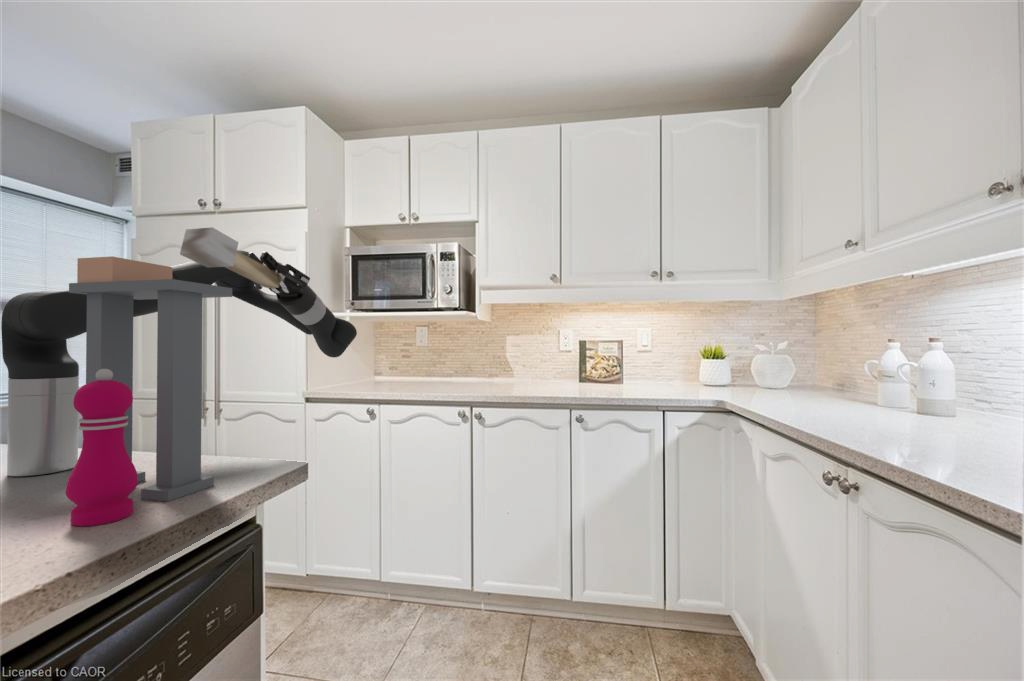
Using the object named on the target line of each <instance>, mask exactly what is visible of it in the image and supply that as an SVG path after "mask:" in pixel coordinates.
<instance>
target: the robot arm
mask: <svg viewBox="0 0 1024 681" xmlns="http://www.w3.org/2000/svg"><path fill="white" fill-rule="evenodd" d="M237 251H238V252H240V253H242V254H244V255H246V256H248V257H249V258H251V259H253V260H255V261H257V262H258V263H260V264H262V265H264V266H266V267H268V268H269V269H270V270H273V273H274V274H275V276H276V277H277V280H278V281H279V282H280V284H279V288H268V290H270V291H271V292H272V293H274V295H273V294H269V293H266V292H264V291H262V289H263V288H265V287H264V286H262V285H260V284H258V283H256V282H254V281H252V280H250V279H248V278H246V277H244V276H242V275H240V274H238V273H236V272H234V271H232V270H229V269H227V268H225V267H205V266H203V265H201V264H199V263H197V262H195V261H193V260H191V261H188V262H184V263H181V264H175V265H170V266H169V265H168V267H172V279H175V280H182V281H188V282H195V283H201V284H208V285H214V284H215V286H221V287H227V288H232V297H233V298H236V299H238V300H240V301H243V302H245V303H247V304H250V305H252V306H254V307H257V308H259V309H261V310H263V311H266V312H268V313H270V314H272V315H274V316H276V317H279V318H280V319H282V320H284V321H285V322H286V323H288V324H290V325H291V326H293V327H294V328H296V329H297V330H299V331H301V332H302V333H304V334H306V335H309V336H311V335H312V336H313V338H314V340H315V343H316V344H317V347H318V349H319V350H320V351H321V352H322V353H323V354H324V355H326V356H327V357H329V358H334V359H335V358H339V357H340V356H342V355H343V353H344V352H345V351H346V350H347V348H348V347H350V345H351V343H352V342H354V340H355V339H356V337H357V334H358V331H357V328H356V327H355V325H353V323H351V322H349V320H348V321H347V320H345V319H342V318H338V317H336V316H335V314H334V313H333V312H332V311H331V310H330V309H329V308H328V307H327V306H326V305H325V303H324V302H323V301H322V298H320V297H319V296H318V294H317V293H316V292H315V291H314V290H313V289H312V288H311V287H310V286H309V283H310V280H311V277H309V276H308V275H307V274H305V273H304V272H302V271H300V270H298V269H297V268H296V267H294V266H293V265H291V264H289V263H286V264H283V263H282V262H279V261H277V260H276V259H275V258H274V257H273V256H272V255H271V254H270V253H269V252H268V251H263V252H262V253H261V254H260V256H259V257H258V256H257V255H256V254H255V253H254V252H249V251H245V250H239V249H237ZM291 272H292V273H293V274H292V273H291ZM155 313H158V299H144V300H137V299H133V318H135V317H140V316H146V315H150V314H155ZM0 328H1V345H2V347H1V349H2V352H1V353H2V359H3V363H4V364H5V366H6V369H7V370H8V371H7V372H8V373H7V374H8V377H7V378H8V381H7V385H8V386H7V389H8V390H7V398H8V399H7V453H6V454H7V455H6V459H7V461H6V462H7V463H6V474H7V476H8V477H30V476H39V475H46V474H53V473H59V472H63V471H67V470H71V469H74V467H75V465H76V463H77V461H78V459H79V452H78V451H79V428H78V427H79V421H78V420H79V412H78V411H77V410H76V409H75V408H74V404H73V401H74V396H75V394H76V392H77V391H78V389H79V388H80V387H79V382H80V381H79V379H80V378H79V377H80V372H79V371H80V368H79V362H78V361H76V360H75V359H74V358H73V357H72V356H71V355H70V353H69V351H68V347H67V346H68V344H67V340H70V339H73V338H75V337H78V336H80V335H82V334H85V333H86V328H87V294H77V293H69V289H67V290H64V289H63V290H43V291H31V292H30V291H29V292H24V293H19V294H17V295H16V296H14V297H12V298H10V299H9V300H8V301H7V302H6V303H5V305H4V307H3V310H2V313H1V326H0Z"/></svg>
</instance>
